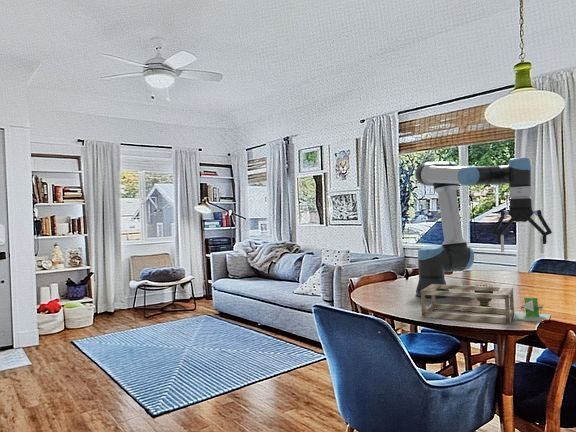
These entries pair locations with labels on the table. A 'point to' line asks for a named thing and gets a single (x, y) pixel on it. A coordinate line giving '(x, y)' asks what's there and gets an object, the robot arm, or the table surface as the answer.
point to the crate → (501, 294)
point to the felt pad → (522, 317)
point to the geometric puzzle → (531, 307)
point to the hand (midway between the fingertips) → (521, 252)
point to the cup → (484, 300)
